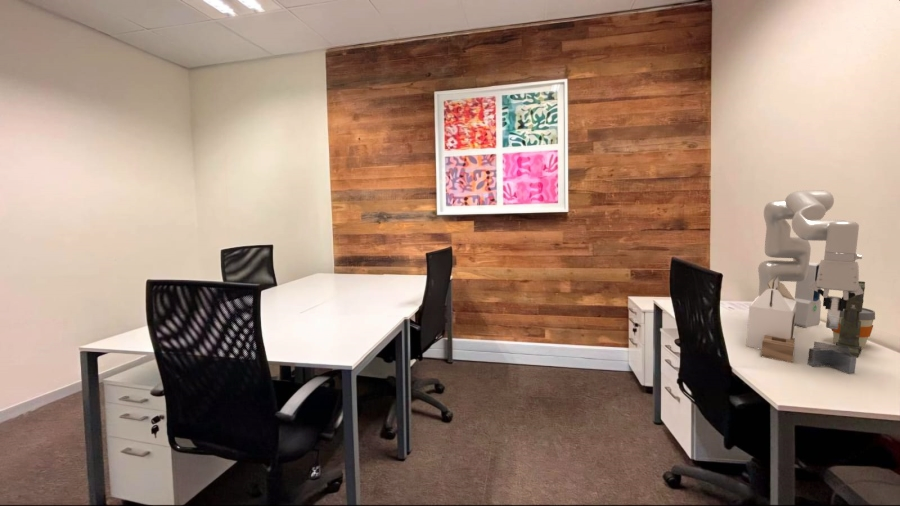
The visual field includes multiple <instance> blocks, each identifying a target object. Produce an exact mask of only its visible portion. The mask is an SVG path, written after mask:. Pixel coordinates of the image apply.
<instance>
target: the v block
mask: <svg viewBox="0 0 900 506" xmlns="http://www.w3.org/2000/svg"><path fill="white" fill-rule="evenodd" d="M856 362H857V357H856V356H853V355H850V352H849V348H848V347H845V346H839V345H836V344H831V343H825V342H820V341H814V342H813V347H811V348H808V356H807V365H808V364H809V366H810V365H811V367H813V366H815V367H832V368H834V369H837V370H838V371H841V372H844V373H846V374H855V372H856V364H857V363H856Z"/></svg>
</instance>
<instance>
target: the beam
mask: <svg viewBox="0 0 900 506" xmlns="http://www.w3.org/2000/svg"><path fill="white" fill-rule="evenodd" d="M795 341H796V339H795V337H793V338H790V339H784V338H779V337H773V336H767V335H764V338H763V341H762V349H761V352H760V353H761V354H760V357H762V356H763V358H766V359H767V358H768V359H772V358H773V359H774V360H777V361H782V360H783V362H787V361H788V362H787V363H793V361H794V360H793V359H794V353H795V352H794V350H795Z"/></svg>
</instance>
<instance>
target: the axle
mask: <svg viewBox="0 0 900 506" xmlns="http://www.w3.org/2000/svg"><path fill="white" fill-rule="evenodd" d="M841 299H842V297H839V296H834V295H833V296H831V295H830V296H829V308H828V309H827V313H826V314H827V315H826V321H825V322H826V324H825V328H826V329H829V330H831V329H838V324H839V315H840V305H841Z"/></svg>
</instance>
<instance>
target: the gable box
mask: <svg viewBox="0 0 900 506" xmlns="http://www.w3.org/2000/svg"><path fill="white" fill-rule="evenodd" d="M748 308H749V310H748V320H747V321H748V322H747V334H746V344H745V345H746V347H748V346H749V347H748V348H753V347H754V348H755V349H758V348H759V349H758V350H762V341H763V338H764V335H767V336H773V337H779V338H784V339H790V338H794V332H795V331H794V330H795V325H794V323H795V313H796V301H795V297H793V295H792V294H791V293H790V291H789V290H788V289H787V287H786V285H785V284H784V283H783V282H781V281H780V282H778V276H776V278H775V279H774V280H773V278H772V279H771V280H770V281H769V282H768V287H767V288H766V289H765V290H764V291H763V292H762V293H761V294H760V295H759V294H758V296H756V297H755V298H754V300H753V301H752V303H750V305H749V307H748Z"/></svg>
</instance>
